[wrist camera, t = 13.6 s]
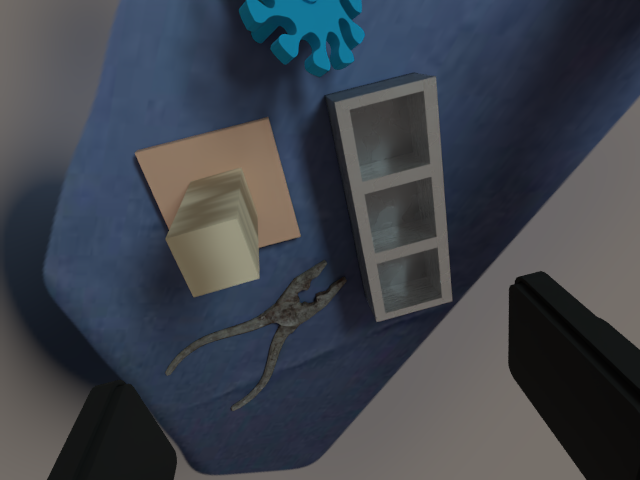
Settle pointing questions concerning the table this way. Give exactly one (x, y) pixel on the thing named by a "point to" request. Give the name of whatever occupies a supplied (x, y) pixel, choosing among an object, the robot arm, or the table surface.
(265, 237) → the tile
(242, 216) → the peg
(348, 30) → the gear
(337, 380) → the table surface
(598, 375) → the robot arm
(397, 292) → the shelf
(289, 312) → the pliers
